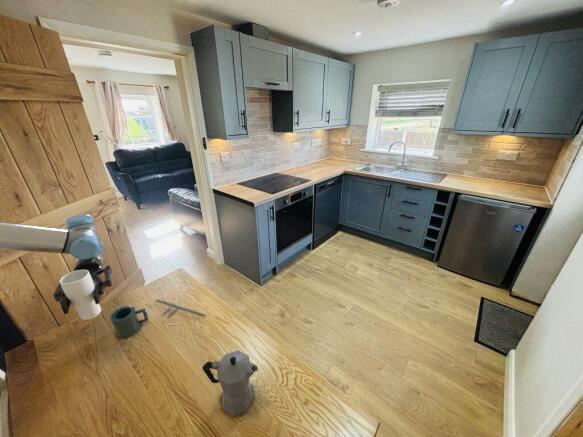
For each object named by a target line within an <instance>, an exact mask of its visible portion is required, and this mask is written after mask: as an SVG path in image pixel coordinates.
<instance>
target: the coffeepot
mask: <svg viewBox="0 0 583 437" xmlns="http://www.w3.org/2000/svg"><path fill="white" fill-rule="evenodd" d="M211 370H216V377H217V378H215V375H214V373H213V372H212V371H211ZM202 371H203V372H204V374H205V375H206V377H207V379H208V380H209V381H210V382H211V383H212V384H219V385H220V387H221V389H222V397H221V398H222V410H223V411H224V412H226V413H227V414H229V415H231V416H232V417H235V416H238V415H241V414H243V413H246V412H247V410H248V408H249V407H250V405H251V404H252V402H253V400H254V398H253V393H252V387H251V384H250V378H251V377H252V376H253V375H254V374H255V373H256V372H258V371H259V366H258V365H256V364H255V363H252V362H251V361H250V356H249V355H248V354H246V353H244V352H243V351H240V350H235V351H232V352H227V353H225V354H224V356H222V357H221V359H220V360H219V361H218V360H217V361H216V360H214V361H206V362H205V363H204V364H203V366H202Z"/></svg>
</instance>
